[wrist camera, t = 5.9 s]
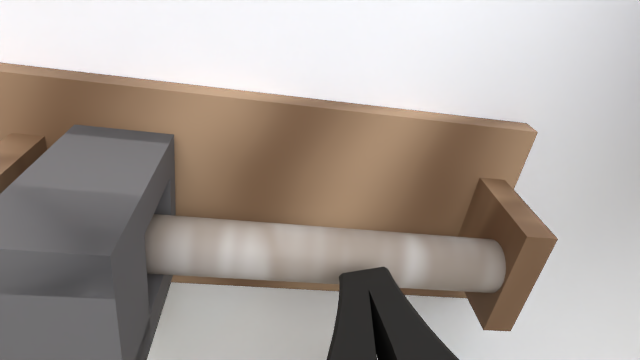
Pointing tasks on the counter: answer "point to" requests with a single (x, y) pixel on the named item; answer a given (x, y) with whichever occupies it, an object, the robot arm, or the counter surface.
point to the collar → (84, 247)
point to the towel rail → (307, 186)
